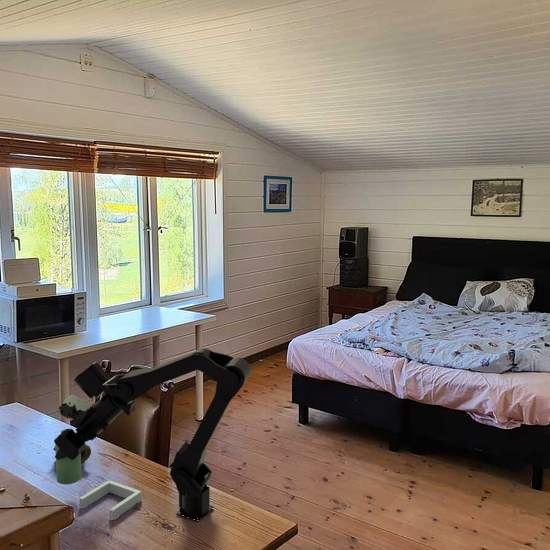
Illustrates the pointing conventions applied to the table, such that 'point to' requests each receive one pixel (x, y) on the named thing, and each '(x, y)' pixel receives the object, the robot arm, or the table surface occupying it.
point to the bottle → (68, 468)
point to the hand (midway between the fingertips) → (62, 452)
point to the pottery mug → (82, 454)
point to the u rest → (115, 488)
